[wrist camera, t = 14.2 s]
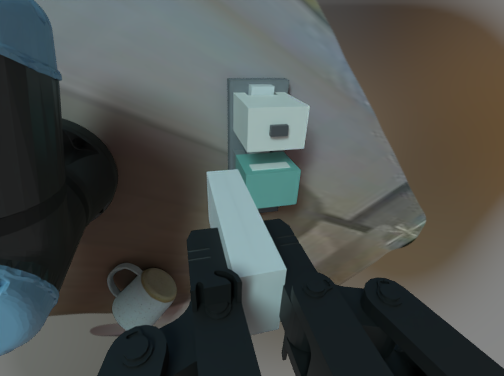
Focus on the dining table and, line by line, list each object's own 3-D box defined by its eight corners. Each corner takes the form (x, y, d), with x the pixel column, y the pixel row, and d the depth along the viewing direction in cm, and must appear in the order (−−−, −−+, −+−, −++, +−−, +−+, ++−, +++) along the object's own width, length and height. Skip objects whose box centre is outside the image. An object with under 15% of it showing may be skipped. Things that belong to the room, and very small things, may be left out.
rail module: (276, 176, 44) (296, 204, 37) (233, 180, 42) (245, 210, 35) (279, 146, 41) (300, 169, 35) (233, 149, 40) (246, 174, 33)
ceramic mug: (180, 273, 51) (181, 309, 44) (153, 302, 52) (150, 340, 46) (126, 250, 45) (118, 286, 39) (98, 282, 47) (86, 322, 41)
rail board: (274, 196, 47) (297, 233, 39) (228, 201, 46) (242, 241, 37) (285, 78, 38) (318, 93, 30) (227, 78, 36) (245, 94, 28)
